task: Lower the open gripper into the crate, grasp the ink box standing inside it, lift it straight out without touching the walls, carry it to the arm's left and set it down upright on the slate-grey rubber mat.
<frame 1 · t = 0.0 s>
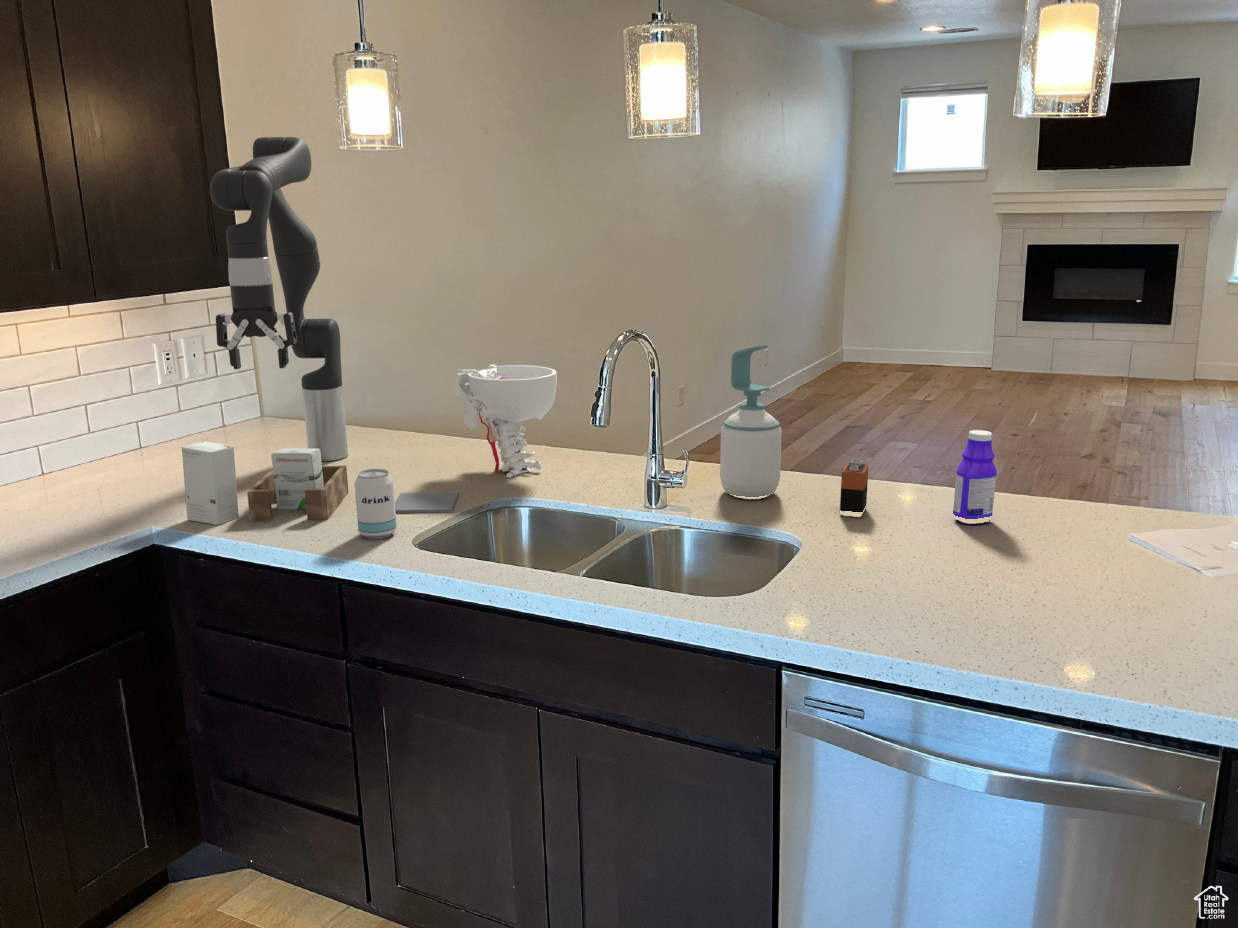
hand: (260, 368, 190), 29 cm above the worktop, fingers open, 8 cm apart
beverage can: (378, 536, 185), on the worktop
soap bottle: (749, 494, 208), on the worktop
bottle: (972, 522, 190), on the worktop
battery: (852, 513, 196), on the worktop
crate: (301, 506, 203), on the worktop
skincare box: (214, 519, 196), on the worktop
skull: (506, 471, 228), on the worktop
mat: (425, 503, 204), on the worktop
ink box: (301, 507, 203), resting in crate
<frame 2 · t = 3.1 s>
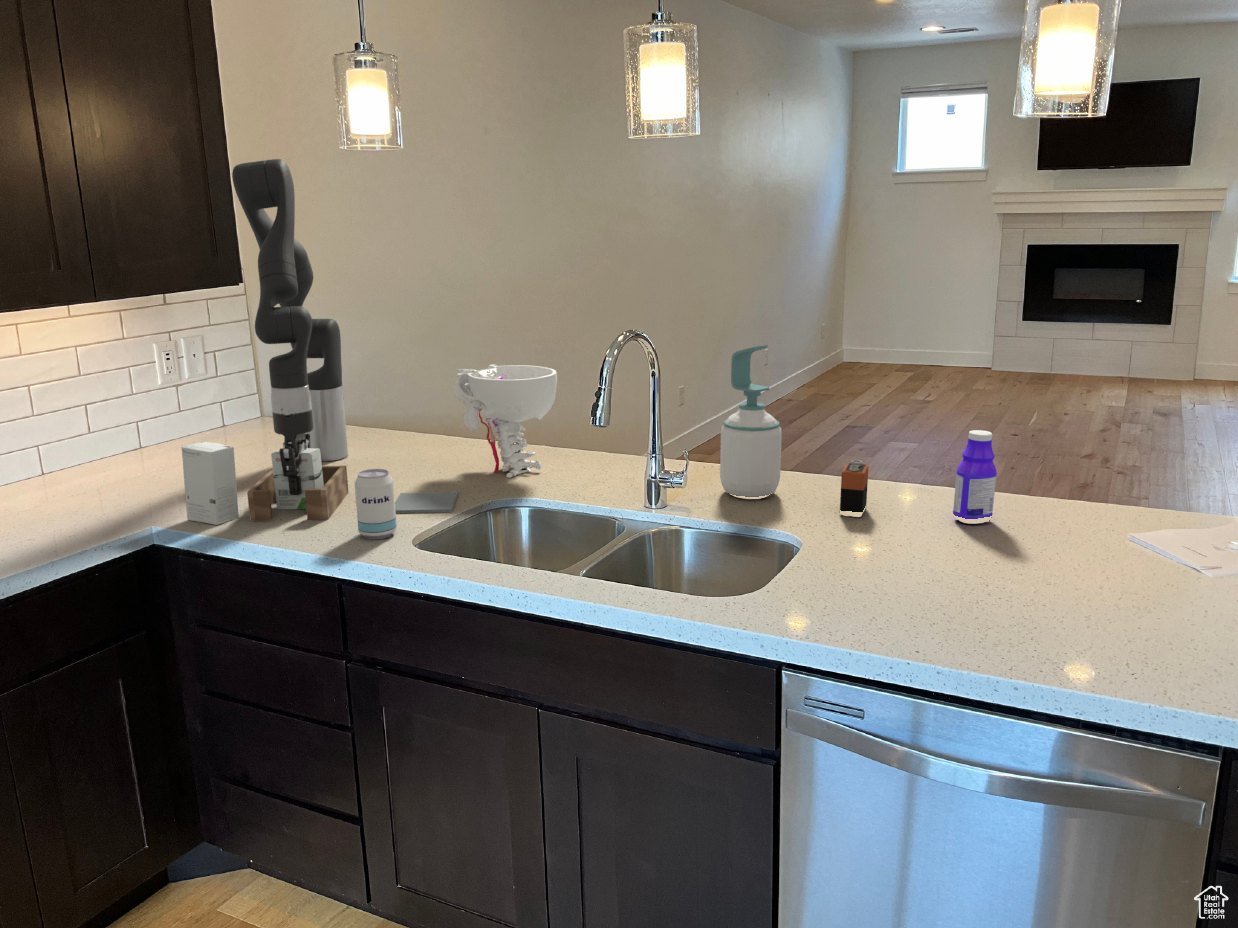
hand: (299, 489, 202), 3 cm above the worktop, fingers closed on ink box, 5 cm apart
ink box: (301, 507, 203), resting in crate, touching gripper
everything else where it was.
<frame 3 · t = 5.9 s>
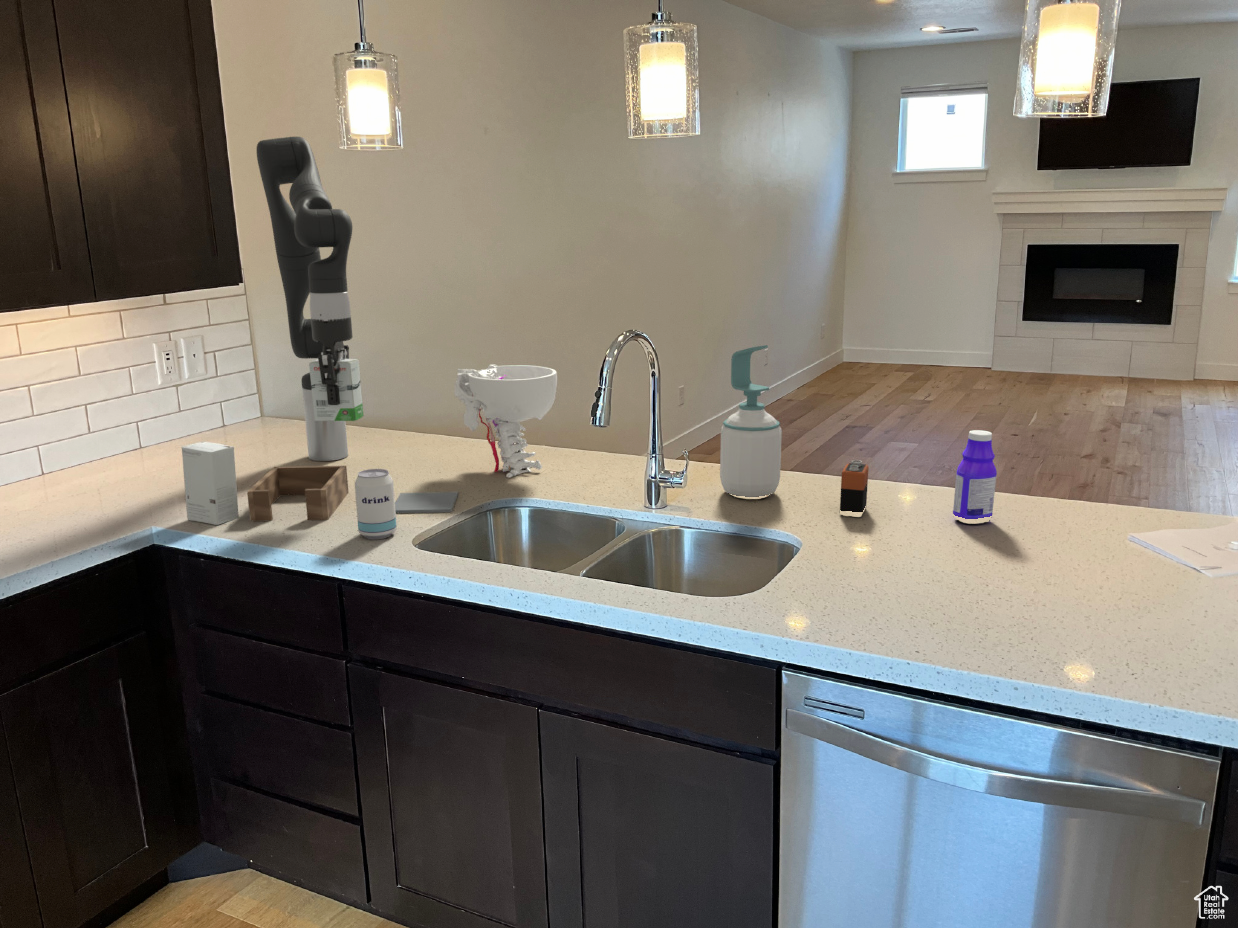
hand: (338, 401, 197), 22 cm above the worktop, fingers closed on ink box, 5 cm apart
ink box: (339, 419, 198), point 18 cm above the worktop, touching gripper
everything else where it was.
when the fingers open (5 cm above the worktop, at t = 9.1 s): ink box drops 1 cm, resting on mat.
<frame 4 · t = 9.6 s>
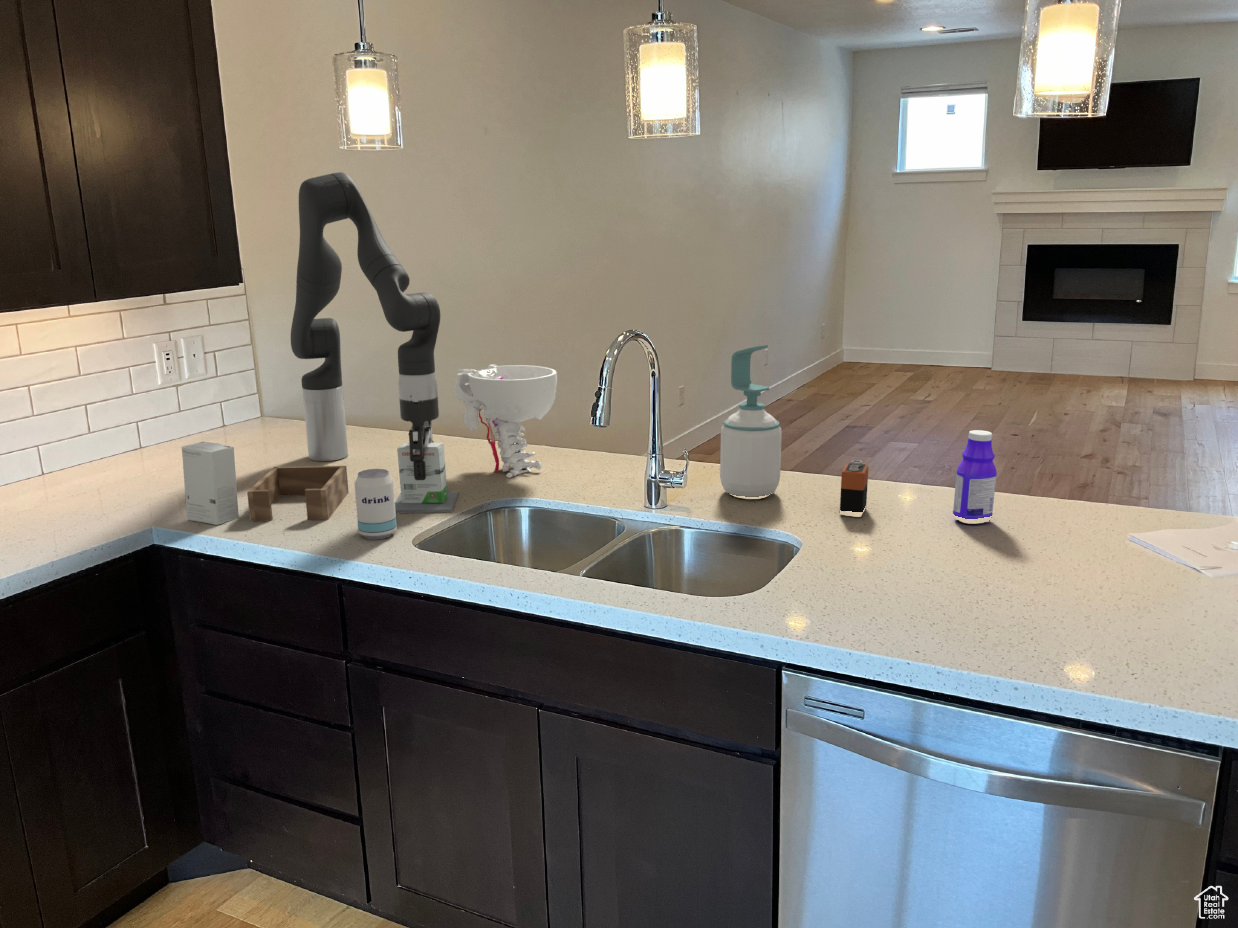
hand: (423, 473, 202), 6 cm above the worktop, fingers open, 8 cm apart
ink box: (424, 501, 204), resting on mat
everything else where it was.
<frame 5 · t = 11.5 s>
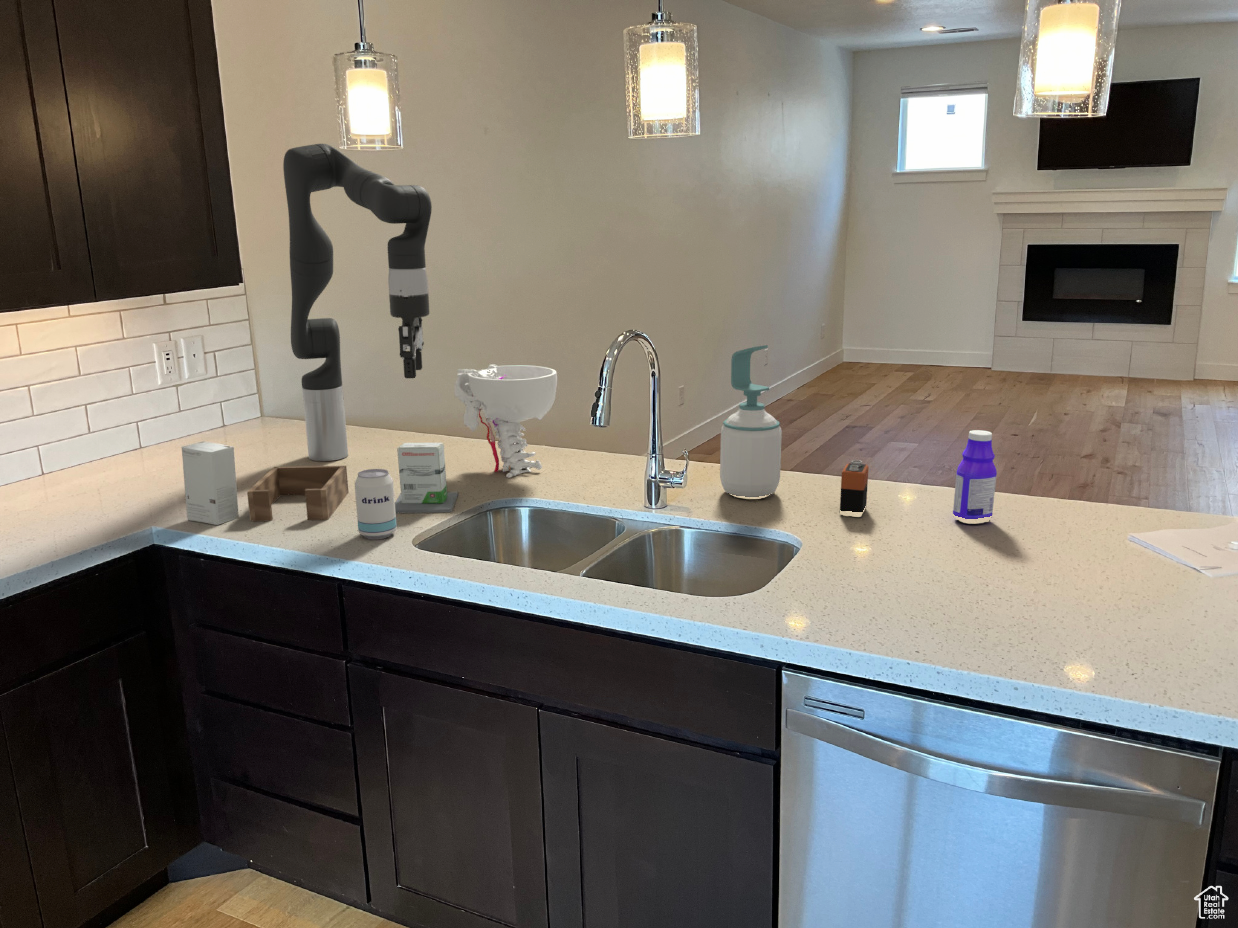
hand: (413, 373, 198), 27 cm above the worktop, fingers open, 8 cm apart
nothing on the worktop moved.
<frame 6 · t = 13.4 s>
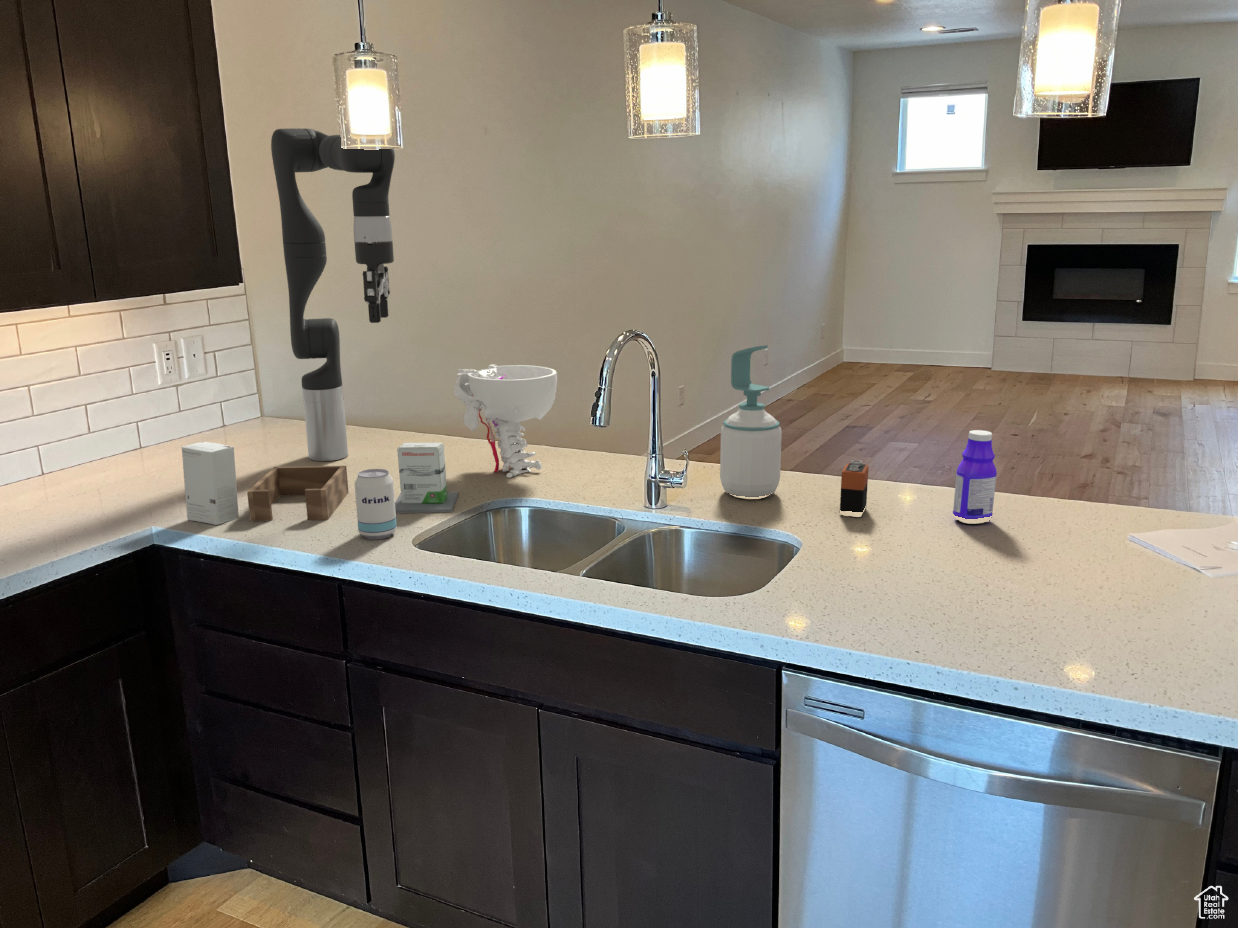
hand: (379, 320, 206), 36 cm above the worktop, fingers open, 8 cm apart
nothing on the worktop moved.
at the end: ink box inside the target area on the mat (0.2 cm from its centre), point 0.4 cm above the mat's base; ink box tilted 0°; the gripper is holding nothing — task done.
